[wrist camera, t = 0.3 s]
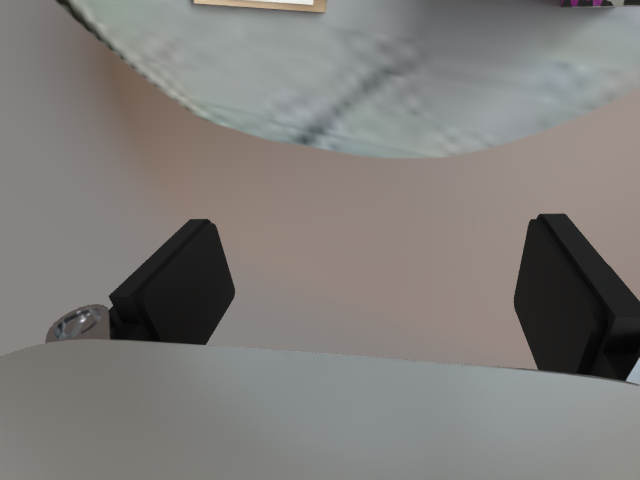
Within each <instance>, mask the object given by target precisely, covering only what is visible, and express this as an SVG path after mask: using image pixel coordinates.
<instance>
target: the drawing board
mask: <svg viewBox="0 0 640 480" xmlns="http://www.w3.org/2000/svg"><path fill="white" fill-rule="evenodd" d="M194 3H198V4H212V5H226V6H241V7H255V8H269V9H283V10H298V11H312V12H326V0H194Z"/></svg>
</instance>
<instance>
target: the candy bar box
mask: <svg viewBox="0 0 640 480" xmlns="http://www.w3.org/2000/svg"><path fill="white" fill-rule="evenodd" d="M637 6H640V0H562V2H561V7H637Z"/></svg>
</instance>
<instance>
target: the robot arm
mask: <svg viewBox="0 0 640 480" xmlns="http://www.w3.org/2000/svg"><path fill="white" fill-rule="evenodd" d="M234 295H235V288H234V284H233V281H232V278H231V274H230V271H229V268H228V264H227V261H226V257H225V254H224V251H223V247H222V244H221V241H220V237H219V234H218V231H217V228H216V226H215V224H213V223H211V222H210V220H208V219H191V220H189V221H188V222H187V223H186V224H185V225H184V226H183V227H181V228H180V230H178V231H177V232H176V233H175V234H174V235H173V236H172V237H171V238H170V239H169V240H168V241H167V242H165V243H164V244H163V245H162V246H161V247H160V248H159V249H158V250H157V251H156V252H155V253H154V254H153V255H152V256H151V257H150V258H149V259H148V260H146V261H145V262H144V263H143V264H142V265H141V266H140V267H139V268H138V269H137V270H136V271H135V272H134V273H133V274H132V275H131V276H129V277H128V278H127V279H126V280H125V281H124V282H123V283H122V284H121V285H120V286H119V287H118V288H117V289H116V290H115V291H114V292H113V293H111V294H110V296H109V298H110V300H111V302H112V304H113V307H112V308H111V309H110V310H108V308H107V307H106V306H104V305H100V304H94V305H87V306H84V307H80V308H78V309H75V310H73V311H71V312H69V313H68V314H66V315H64V316H63V317H61V318H60V319H59V320H57V321H56V322H55V323H54V324H53V325H52V326H51V327H50V329H49V331H48V333H47V336H46V341H45V343H44V344H39V345H36V346H31V347H28V348H24V349H20V350H17V351H14V352H11V353H9V354H6V355H3V356H1V357H0V480H640V301H639V300H638V299H637V298H636V297H635V296H634V294H633V293H632V292H631V291H630V289H629V288H628V287H627V286H626V285H625V284H624V282H623V281H622V280H621V279H620V278H619V276H618V275H617V274H616V273H615V272H614V270H613V269H612V268H611V267H610V266H609V265H608V264H607V263H606V262H605V261H604V260H603V258H602V257H601V256H600V255H599V254H598V252H597V251H596V250H595V249H594V248H593V246H592V245H591V244H590V243H589V242H588V240H587V239H586V238H585V237H584V236H583V234H582V233H581V232H580V231H579V230H578V228H577V227H576V226H575V225H574V224H573V222H572V221H571V220H570V219H569V218H568V216H567V215H566V214H539V215H538V217H537V219H531V220H530V222H529V225H528V230H527V235H526V240H525V245H524V250H523V255H522V260H521V265H520V270H519V275H518V280H517V285H516V290H515V295H514V307H515V311H516V313H517V316H518V318H519V321H520V324H521V326H522V329H523V332H524V334H525V337H526V339H527V342H528V345H529V347H530V349H531V352H532V355H533V357H534V360H535V363H536V365H537V368H538V370H534V369H524V368H511V367H498V366H484V365H471V364H459V363H446V362H433V361H419V360H407V359H393V358H378V357H364V356H350V355H336V354H323V353H309V352H295V351H280V350H267V349H252V348H239V347H225V346H211V345H206V343H207V342H208V340H209V338H210V337H211V335H212V333H213V332H214V330H215V328H216V327H217V325H218V323H219V322H220V320H221V318H222V317H223V315H224V314H225V312H226V310H227V308H228V307H229V305H230V304H231V302H232V300H233V298H234Z"/></svg>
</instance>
